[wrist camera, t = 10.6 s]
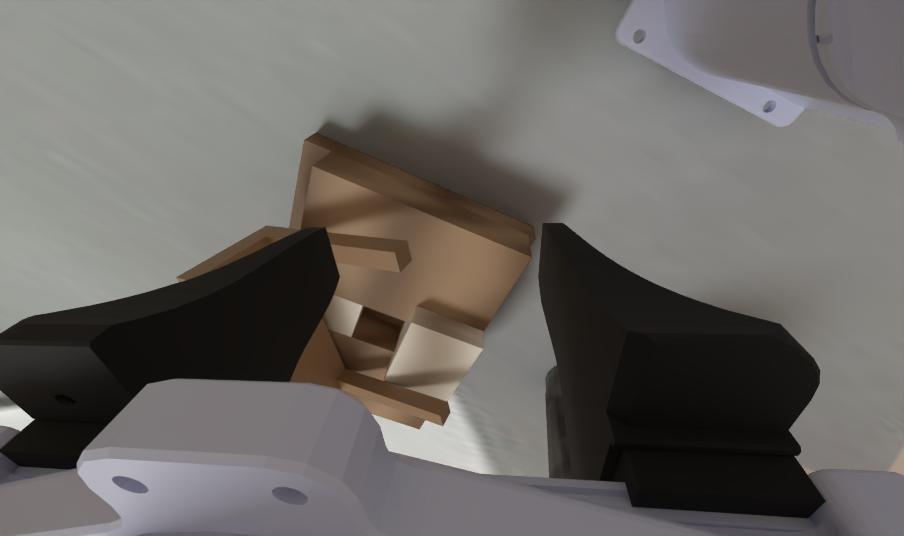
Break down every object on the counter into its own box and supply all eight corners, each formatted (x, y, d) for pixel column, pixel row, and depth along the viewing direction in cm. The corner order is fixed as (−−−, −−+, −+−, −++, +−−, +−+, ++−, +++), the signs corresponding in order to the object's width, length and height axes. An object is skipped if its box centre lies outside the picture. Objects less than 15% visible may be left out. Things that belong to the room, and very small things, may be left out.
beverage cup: (638, 364, 28) (844, 837, 12) (591, 415, 32) (695, 822, 16) (552, 338, 28) (642, 803, 11) (515, 394, 32) (540, 796, 15)
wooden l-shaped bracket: (407, 240, 16) (329, 314, 12) (450, 412, 22) (407, 493, 18) (266, 225, 20) (176, 277, 16) (337, 374, 26) (284, 434, 23)
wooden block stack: (533, 226, 23) (543, 276, 18) (431, 389, 32) (422, 449, 28) (315, 133, 21) (265, 162, 16) (277, 336, 30) (239, 391, 26)
